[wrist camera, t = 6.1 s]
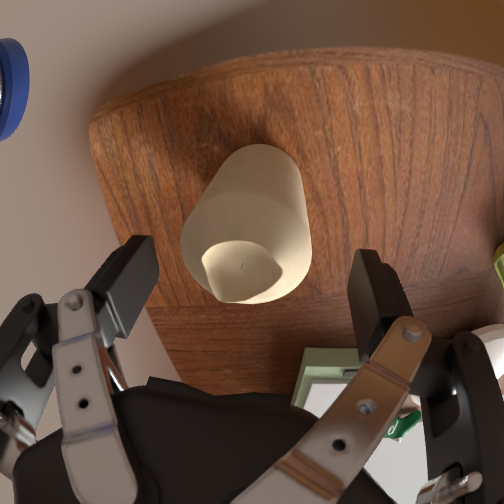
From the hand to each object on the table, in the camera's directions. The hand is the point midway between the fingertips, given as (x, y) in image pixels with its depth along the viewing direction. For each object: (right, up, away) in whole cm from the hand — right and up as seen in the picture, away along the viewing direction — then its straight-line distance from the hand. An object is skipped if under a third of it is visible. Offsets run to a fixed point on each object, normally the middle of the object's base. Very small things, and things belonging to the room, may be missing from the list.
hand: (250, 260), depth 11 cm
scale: (+11, -15, +20) cm, 27 cm away
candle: (+1, +5, +8) cm, 10 cm away
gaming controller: (+22, -25, +25) cm, 42 cm away
